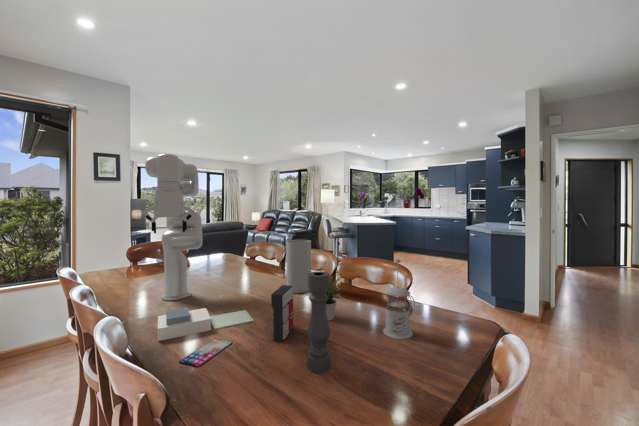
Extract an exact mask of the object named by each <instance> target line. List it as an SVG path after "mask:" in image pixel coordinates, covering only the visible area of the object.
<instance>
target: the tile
mask: <svg viewBox="0 0 639 426" xmlns="http://www.w3.org/2000/svg"><path fill="white" fill-rule="evenodd" d="M189 311H190V310H189V307H188V306H186V307H179V308H173V309H167V310H165V315H166V325H171V324H177V323H182V322H188V321H190V314H189Z"/></svg>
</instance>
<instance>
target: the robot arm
mask: <svg viewBox="0 0 639 426" xmlns="http://www.w3.org/2000/svg"><path fill="white" fill-rule="evenodd" d="M144 167H145V172H146V174H147V175H148V176H149V177H151V178H156V180H157V183H156V184H157V187H156V188H157V190H155V191H154V196H153V197H154V198H153V205H152V206H150V207H147V208H146V209H144V210H142V214H143V216H144V217H145V219H147V221H150V222H151V232H153V234H157V223H156V220H157V219H158V218H166V219H165V220H166V224H165V225H166V228H167V230H168V231H165V232H164V233H163V234H162V236H161V244H162V250H163V263H164V293H163V294H161V297H160V298H161V299H162V301H178V300H183V299H186V298H189V297H190V296H191V294H192V292H191V291H190V290H188V261H187V256H186V255H185V254H184V253H183V252H182V251H187V250H198V249H200V248H201V247H202V246H203V223H202V217H201V214H200V213H199V212H196V211H195V210H194V209H192V208H190V207H187V206H186V205H185V204H184V203H185V202H184V198H185V197H188V198H189V197H190V198H191V197H196V196H197V195H198V194H199V189H200V188H199V171H198V168H197V166H196V164H195V165H194V164H192V163H185V162H184V161H183V160H182V159H181V158H180V157H179V156H177V155H175V154H171V153H162V154H158V155H157V157H156V156H155V157H153V156H151V157H148V158H147V159H146V161H145V164H144ZM151 211H153V215H154V216H153V217H151V216H150V215H149V212H151Z"/></svg>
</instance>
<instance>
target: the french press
mask: <svg viewBox="0 0 639 426" xmlns="http://www.w3.org/2000/svg"><path fill="white" fill-rule="evenodd" d="M394 263H396V264H397V265H396V266H397V269H396V270H397V272H396V273H397V276H396V277H397V278H396V279H397V281H396V283H397V284H396V285H397V286H392V287H390V288H387V289H385V293H386V295H388V296H391V297H394V298H397V299H393V300H388V301H387V302H386V306H385V327H383V329H382V333H383V335H385V336H388V337H389V338H392V339H395V340H396V339H397V340H398V339H399V340H405V339H409V338H411V337H412V336H413V331H412V330H411V329H410V322H411V319H410V317H411V316H412V315H413V313H414V312H415V308H416V301H415V298H414V297H413V296H411V292H410V291H409V290H408V289H406V288H404V287H402V286H399V263H401V259H400V258H396V259H395V260H394ZM399 298H404V299H406V300H409V299H410V305H409V303H407V301H404V300H399ZM411 298H412V299H411ZM412 300H413V302H412ZM412 303H413V304H412ZM409 306H410V307H409ZM412 306H413V310H412V312H411V313H410V311H411V309H412ZM391 308H392V309H391Z"/></svg>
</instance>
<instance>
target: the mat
mask: <svg viewBox="0 0 639 426" xmlns="http://www.w3.org/2000/svg"><path fill="white" fill-rule="evenodd" d="M209 316H210V315H209ZM210 318H211V327H213V330H218V329H223V328H228V327H229V328H230V327H235V326H237V325H238V326H239V325H243V324H249V323H252V322H255V321H254V318H252V317H251V315H250V314H249V312H248V311H247V310H246V309H243V310H239V311H232V312H228V313H222V314H216V315H211V316H210Z"/></svg>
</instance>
